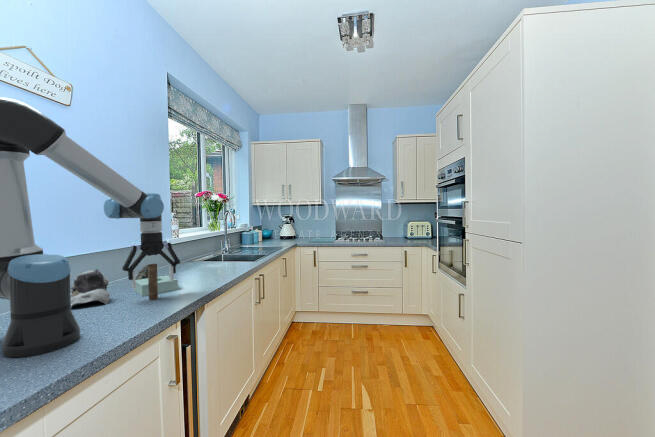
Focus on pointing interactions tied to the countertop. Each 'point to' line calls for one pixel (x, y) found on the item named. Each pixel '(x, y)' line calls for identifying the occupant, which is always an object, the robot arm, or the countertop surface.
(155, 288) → the dowel
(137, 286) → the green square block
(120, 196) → the robot arm
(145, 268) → the rock
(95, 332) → the countertop surface
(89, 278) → the stone
